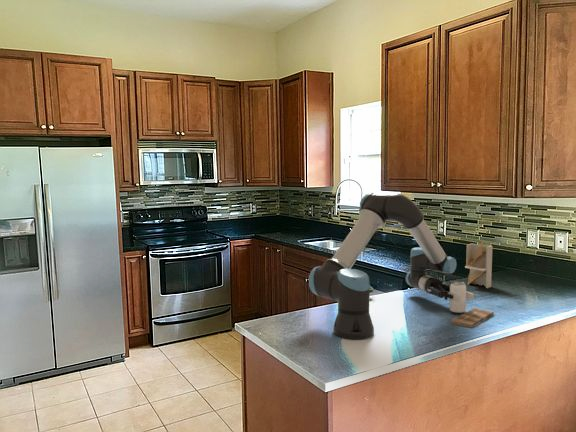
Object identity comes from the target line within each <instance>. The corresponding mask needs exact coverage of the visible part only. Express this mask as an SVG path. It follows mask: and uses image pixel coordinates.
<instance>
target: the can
mask: <svg viewBox="0 0 576 432" xmlns="http://www.w3.org/2000/svg"><path fill="white" fill-rule="evenodd" d="M450 284H451V285H450ZM450 284H449V286H450V292H451V293H454V294H457V295H460V302H457V301H454V300H451V299H449V307H448V308H449V311H450V312H452V313H456V314H457V313H458V314H464V313H466V312H467V311H466V310H467V309H466V308H467V304H466V303H467V298H466V289H467V285H466V282H464V281H457V280H455V281H451V282H450Z"/></svg>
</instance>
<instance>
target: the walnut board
mask: <svg viewBox="0 0 576 432" xmlns="http://www.w3.org/2000/svg"><path fill="white" fill-rule="evenodd" d="M492 316H494V311H491V310H487V309H486V310H485V309H481V308H477V307H474V308H472V309H470V310H468V311H465V312H463V313H461V314H460V315H458V316H457V317H455V318H453V319H451V322H450V323H451V324H453V325H458V326H462V327H467V328H470V329H472V328H473V327H475V326H477V325H478V324H480V323H483V322H484V321H486V320H487V319H488V318H490V317H492Z"/></svg>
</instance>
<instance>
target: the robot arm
mask: <svg viewBox="0 0 576 432" xmlns="http://www.w3.org/2000/svg"><path fill="white" fill-rule="evenodd" d="M358 211H359V212H358V215H359V219H358V220H357V221H356V223H355V224H354V225H353V227H352V228H351V230H350V232H349V233H348V234H347V235H346V237H345V238H344V240H343V241H342V243H341V245H340V246H339V247H338V249H337V250H336V252H335V253H334V255H333V256H331V258H328V259H326V260H325V261H324V262H323V264H322V266H321V265H318V266H315V267H313V269H311V271H310V273H309V276H308V286H309V289H310V291H311V292H312V293H313V294H314V295H315V296H318V297H320V298H323V299H328V300H331V301H334V302H337V314H336V318H335V320H334V324H333V325H332V327H333V329H332V330H333V334H334V335H335V336H337V337H338V338H342V339H346V340H364V339H365V340H366V339H368V338H371V337H373V336H374V335H375V334H374V333H375V327H374V324H373V321H372V318H371V317H372V316H371V314H370V293H371V292H370V286H371V284H370V277H369V275H368V274H367V273H366V272H364V271H362V270H359V269H355V268H352V267H353V266H354V264H355V263H356V262H357V259H358V258H359V257H360V255H361V254H362V253H363V250H364V249H365V247H366V246H367V245H368V243H369V241H371V238H372V237H373V236H374V234H375V232H376V231H377V230H378V229H381V228H383V227H384V225H385V224H386V222H387V221H389V222H396V223H399V224H401V225H402V227H403V228H404V229H406V230H408V232H409V233H410V234H411V236H412V237H413V238H414V240H415V242H416V243H417V244H418V246H419V247H418V246H417V247H413V248H411V250H410V255H409V257H410V262H409V266H410V268H409V269H410V270H409V271H408V272H407V273H406V276H405V282H406V284H407V285H408V286H410V287H412V288H413V289H414V288H415V289H416V290H417V289H418V290H420V291H423V292H425V293H426V294H430V295H433V296H435V297H438V298H440V299H444V300H445V301H447V300H448V299H449V300H450V299H451V300H454V301H457V302H460V295H457V294H454V293H451V292H450V285H451V283H450V284H449V285H448V284H446V283H443V282H442V280H441V279H439V278H437V277H433V276H432V275H427V273H428V272H427V271H432V272H433V271H434V272H438V273H442V274H453V273H454V272H455V271H456V269H457V260H456V258H454V257H452V256H450V255H449V256H448V255H447V254H446V252H445V251H444V249H443V247H442V246H441V245H440V243H439V241H438V240H437V238H436V237H435V235H434V234H433V232H432V230H431V229H430V227H429V226H428V224H427V222H426V220H424V219H425V217H424V216H425V215H424V213H423V212H422V210H420V208H419V207H418V205H417V204H416V203H415V202H413V201H412V200H411V199H410V198H409V197H408V196H406V195H404V194H401V193H394V192H393V193H392V192H391V193H390V192H377V191H376V192H369V193H366V194H365V195H364V196H363V197H362V198H361V200H360V201H359V206H358ZM466 300H470V301H475V294H474V293H473V292H470V291H468V289H467V288H466Z"/></svg>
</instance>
